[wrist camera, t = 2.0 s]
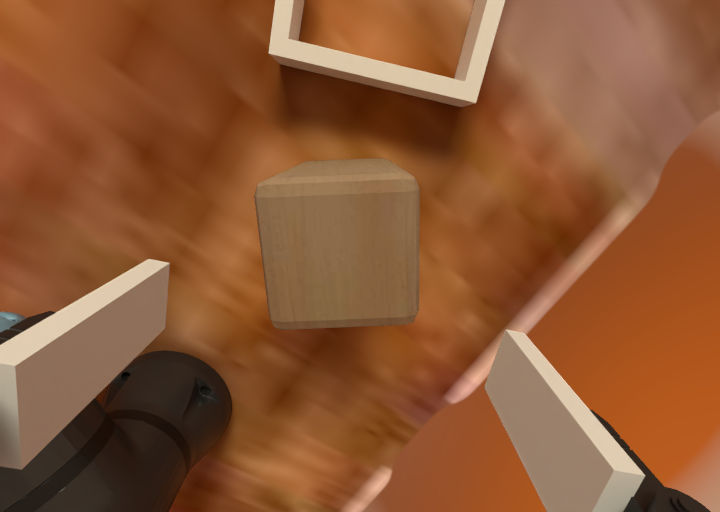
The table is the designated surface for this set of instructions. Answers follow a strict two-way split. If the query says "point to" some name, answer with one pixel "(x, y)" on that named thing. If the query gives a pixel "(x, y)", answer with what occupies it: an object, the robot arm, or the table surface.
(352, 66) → the box
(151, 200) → the table surface
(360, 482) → the table surface
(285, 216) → the wooden block
